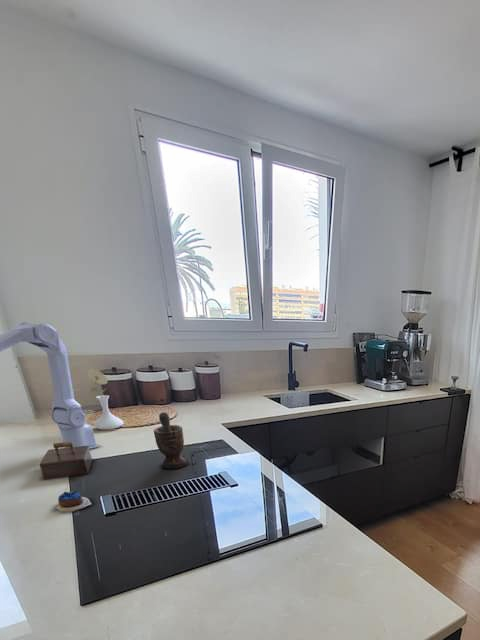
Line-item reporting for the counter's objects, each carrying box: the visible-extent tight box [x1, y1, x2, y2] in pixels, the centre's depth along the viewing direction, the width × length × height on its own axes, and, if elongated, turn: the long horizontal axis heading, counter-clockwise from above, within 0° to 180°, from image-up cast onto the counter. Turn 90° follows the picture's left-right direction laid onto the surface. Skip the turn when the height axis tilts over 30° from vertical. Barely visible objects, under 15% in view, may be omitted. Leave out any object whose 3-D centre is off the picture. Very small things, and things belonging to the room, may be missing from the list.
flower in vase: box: [86, 368, 125, 430], centre depth 168 cm, size 13×11×25 cm
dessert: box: [56, 490, 92, 512], centre depth 106 cm, size 8×7×6 cm
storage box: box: [39, 449, 93, 480], centre depth 128 cm, size 13×11×4 cm
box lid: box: [39, 441, 90, 467], centre depth 126 cm, size 14×11×4 cm
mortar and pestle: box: [153, 411, 187, 470], centre depth 129 cm, size 12×9×20 cm
